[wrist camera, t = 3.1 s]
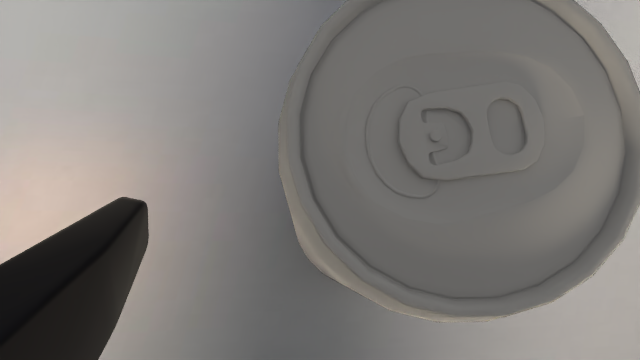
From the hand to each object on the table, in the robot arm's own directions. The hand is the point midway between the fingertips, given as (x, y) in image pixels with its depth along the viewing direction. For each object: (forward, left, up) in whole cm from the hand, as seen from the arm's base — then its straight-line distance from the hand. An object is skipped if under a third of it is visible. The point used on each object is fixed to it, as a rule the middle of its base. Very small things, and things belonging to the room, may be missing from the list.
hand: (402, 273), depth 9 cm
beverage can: (+2, 0, -9) cm, 10 cm away
